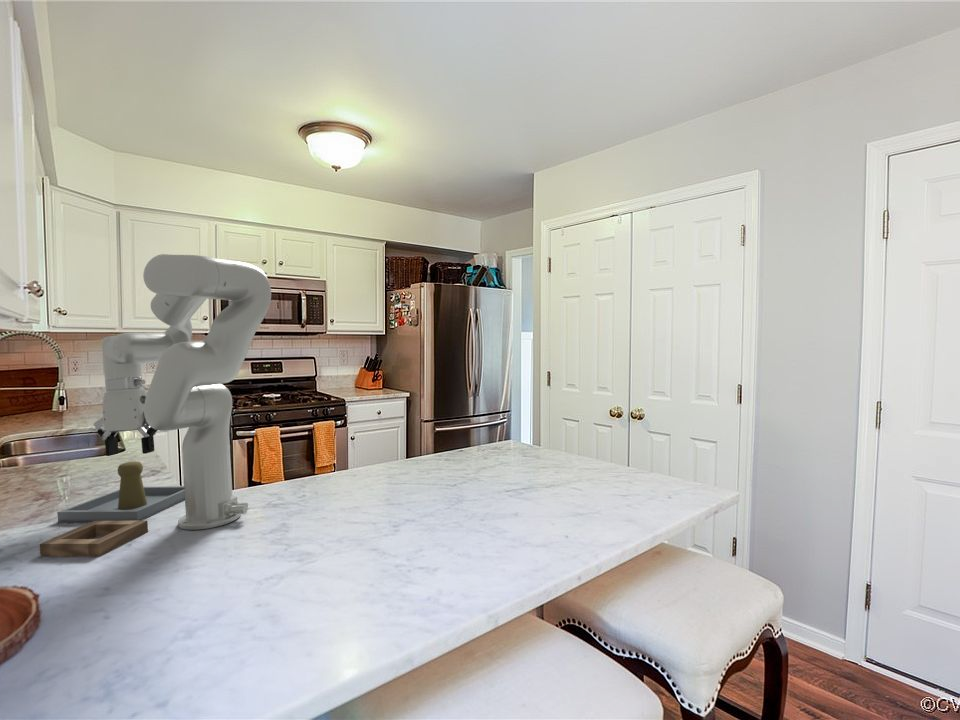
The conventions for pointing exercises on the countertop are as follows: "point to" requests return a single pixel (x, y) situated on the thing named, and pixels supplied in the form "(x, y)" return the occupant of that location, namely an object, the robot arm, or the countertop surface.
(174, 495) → the tray
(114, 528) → the socket block
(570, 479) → the countertop surface
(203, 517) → the robot arm
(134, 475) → the cork
